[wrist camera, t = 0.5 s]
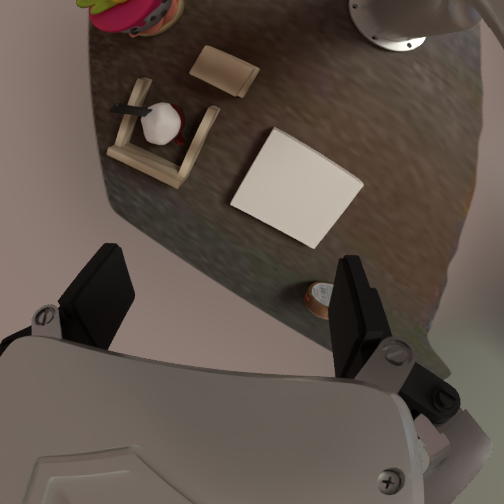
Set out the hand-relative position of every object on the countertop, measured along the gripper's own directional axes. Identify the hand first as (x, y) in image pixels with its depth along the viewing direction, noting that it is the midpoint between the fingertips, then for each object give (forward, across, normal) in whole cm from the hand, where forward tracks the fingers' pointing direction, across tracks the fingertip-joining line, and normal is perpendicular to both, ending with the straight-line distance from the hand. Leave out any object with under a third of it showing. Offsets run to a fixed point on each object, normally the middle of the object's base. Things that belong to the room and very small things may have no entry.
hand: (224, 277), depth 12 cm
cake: (+34, +17, -22) cm, 44 cm away
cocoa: (+34, +15, -3) cm, 37 cm away
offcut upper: (+32, +6, -10) cm, 34 cm away
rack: (+34, +16, -1) cm, 37 cm away
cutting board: (+34, -5, +9) cm, 35 cm away
